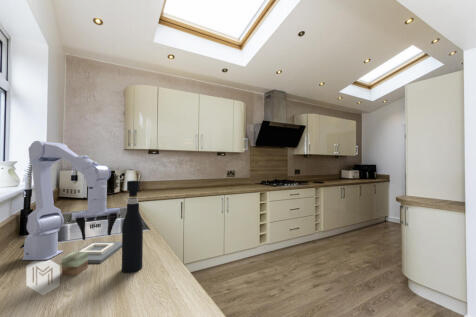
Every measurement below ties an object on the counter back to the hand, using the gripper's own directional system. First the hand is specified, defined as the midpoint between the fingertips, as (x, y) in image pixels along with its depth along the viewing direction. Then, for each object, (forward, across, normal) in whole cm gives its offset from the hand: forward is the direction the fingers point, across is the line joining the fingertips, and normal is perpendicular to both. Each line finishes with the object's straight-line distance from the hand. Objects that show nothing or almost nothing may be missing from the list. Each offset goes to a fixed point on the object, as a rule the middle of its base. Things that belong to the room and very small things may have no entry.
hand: (96, 236), depth 80 cm
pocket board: (+10, +2, +11) cm, 15 cm away
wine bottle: (+10, +9, -12) cm, 18 cm away
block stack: (+10, -6, -2) cm, 12 cm away
